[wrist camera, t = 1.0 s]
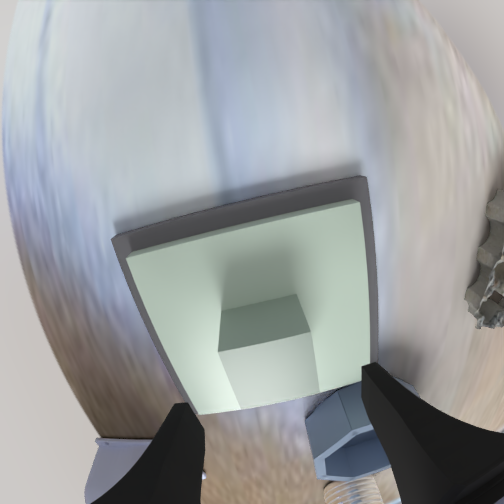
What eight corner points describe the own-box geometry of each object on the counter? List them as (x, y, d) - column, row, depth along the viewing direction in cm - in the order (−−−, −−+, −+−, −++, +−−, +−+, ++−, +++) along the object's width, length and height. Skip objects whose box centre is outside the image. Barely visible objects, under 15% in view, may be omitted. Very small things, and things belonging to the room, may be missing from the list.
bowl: (311, 453, 24) (319, 489, 19) (299, 396, 20) (310, 441, 16) (402, 424, 23) (417, 456, 19) (414, 359, 20) (440, 395, 16)
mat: (193, 407, 20) (192, 414, 19) (116, 235, 15) (110, 239, 15) (373, 367, 20) (377, 374, 19) (360, 175, 15) (366, 176, 14)
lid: (200, 404, 19) (194, 454, 15) (132, 251, 15) (98, 288, 11) (364, 368, 18) (387, 413, 14) (352, 198, 15) (393, 218, 10)
